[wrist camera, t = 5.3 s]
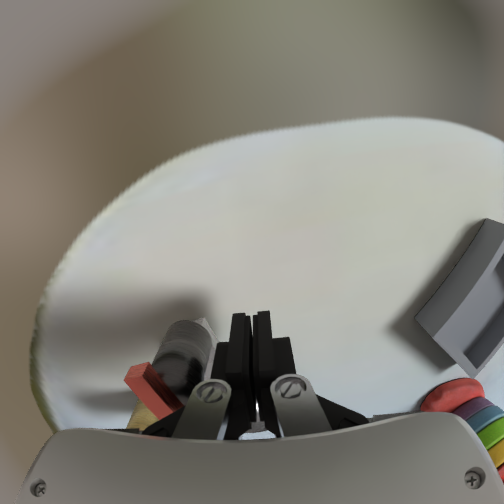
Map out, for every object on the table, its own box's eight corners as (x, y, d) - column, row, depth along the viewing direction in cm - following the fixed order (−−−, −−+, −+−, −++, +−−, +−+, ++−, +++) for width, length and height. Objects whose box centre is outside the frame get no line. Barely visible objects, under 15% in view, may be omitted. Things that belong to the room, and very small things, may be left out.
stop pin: (165, 416, 19) (142, 495, 11) (135, 399, 18) (103, 476, 11) (180, 401, 18) (158, 488, 11) (148, 382, 18) (114, 468, 10)
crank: (280, 414, 17) (286, 489, 11) (233, 426, 17) (228, 497, 11) (204, 287, 14) (174, 368, 8) (148, 310, 14) (99, 385, 8)
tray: (458, 362, 18) (472, 379, 15) (414, 318, 16) (432, 338, 14) (517, 284, 15) (534, 295, 13) (486, 218, 14) (510, 226, 11)
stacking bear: (429, 385, 18) (511, 536, 1) (495, 363, 18) (575, 467, 1) (391, 450, 21) (432, 572, 4) (456, 428, 21) (505, 524, 4)
